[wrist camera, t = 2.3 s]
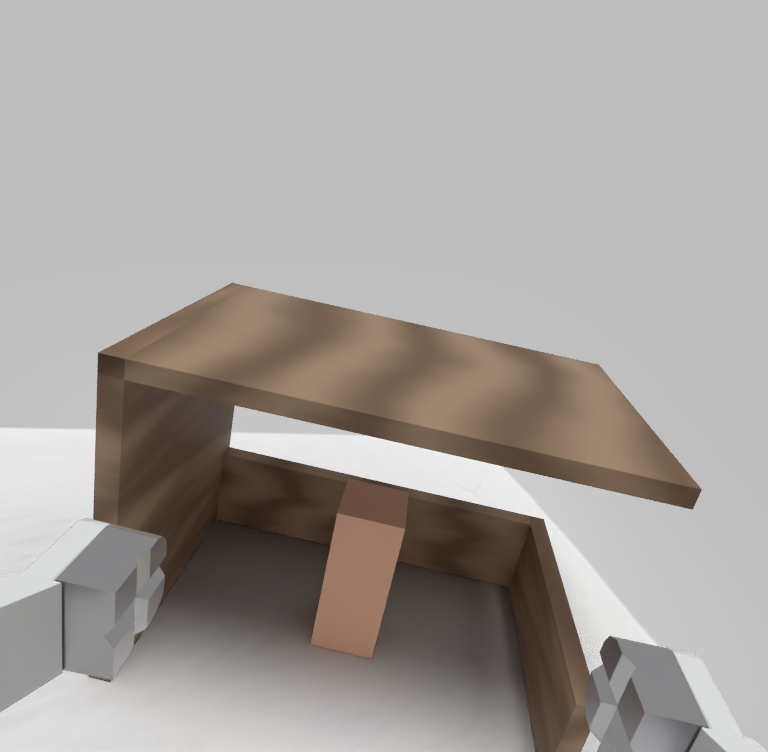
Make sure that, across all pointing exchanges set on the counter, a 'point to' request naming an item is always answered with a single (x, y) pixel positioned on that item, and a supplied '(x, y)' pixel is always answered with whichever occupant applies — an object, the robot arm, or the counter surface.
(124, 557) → the robot arm
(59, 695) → the counter surface
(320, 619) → the terracotta block
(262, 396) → the walnut box
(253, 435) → the counter surface
